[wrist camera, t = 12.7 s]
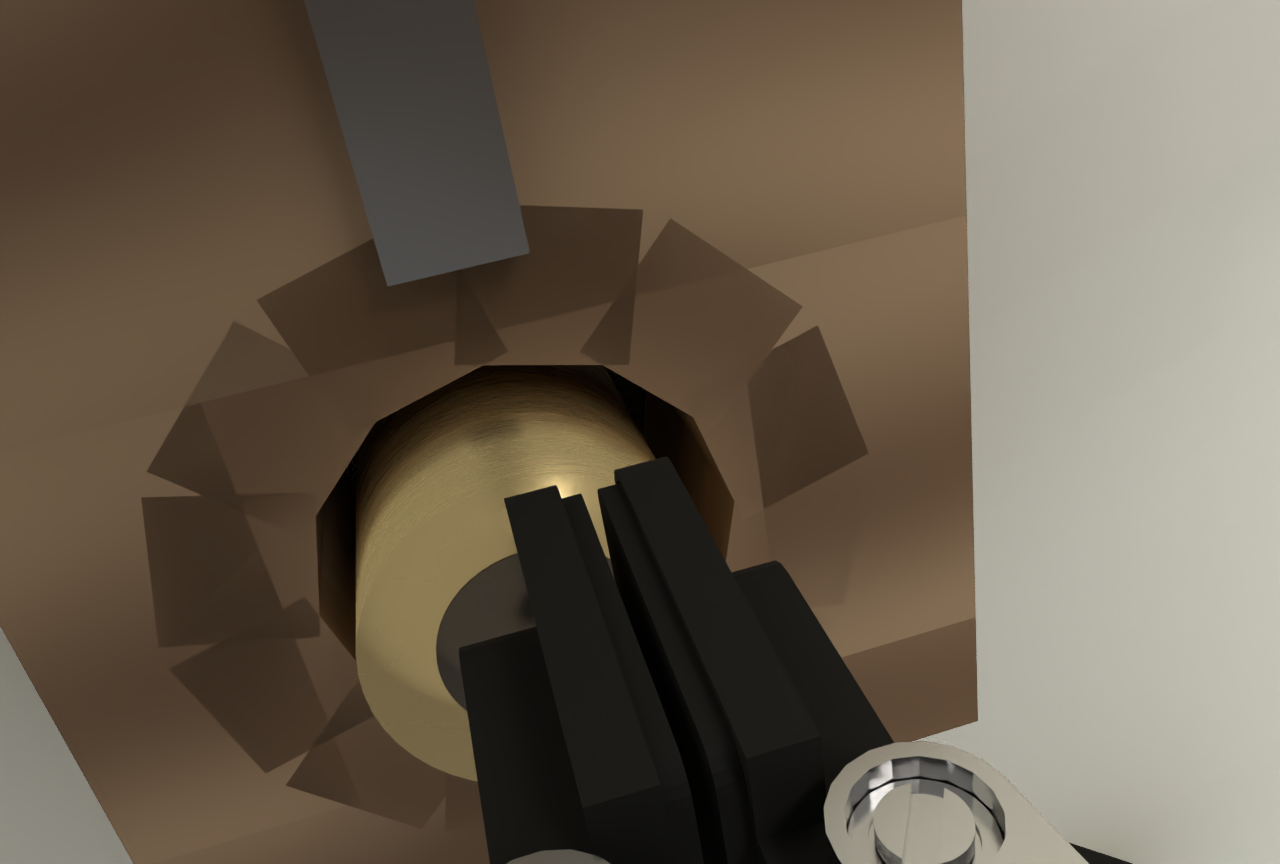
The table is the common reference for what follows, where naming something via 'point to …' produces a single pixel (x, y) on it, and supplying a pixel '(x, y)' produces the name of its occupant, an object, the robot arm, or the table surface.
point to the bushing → (467, 531)
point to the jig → (453, 352)
